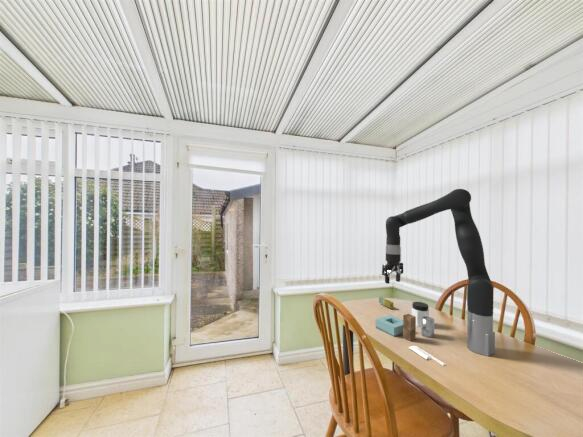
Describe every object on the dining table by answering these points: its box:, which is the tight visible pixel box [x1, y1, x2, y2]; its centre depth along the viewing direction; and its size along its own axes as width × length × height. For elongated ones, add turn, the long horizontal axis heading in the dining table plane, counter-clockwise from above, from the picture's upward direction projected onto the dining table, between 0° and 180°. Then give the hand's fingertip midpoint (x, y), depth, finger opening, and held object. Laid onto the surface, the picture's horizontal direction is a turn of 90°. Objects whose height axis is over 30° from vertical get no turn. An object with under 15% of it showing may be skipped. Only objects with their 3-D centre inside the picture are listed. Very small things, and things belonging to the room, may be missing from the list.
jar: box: [411, 301, 430, 328], centre depth 136 cm, size 9×8×12 cm
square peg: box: [402, 313, 417, 342], centre depth 119 cm, size 4×4×12 cm
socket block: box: [375, 314, 403, 338], centre depth 129 cm, size 12×12×5 cm
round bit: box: [420, 316, 435, 339], centre depth 123 cm, size 6×6×9 cm
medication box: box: [378, 296, 394, 310], centre depth 166 cm, size 12×3×4 cm, turn 18°
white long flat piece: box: [408, 345, 447, 367], centre depth 103 cm, size 5×15×1 cm, turn 17°
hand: (392, 282), depth 129 cm, fingers open, 8 cm apart
